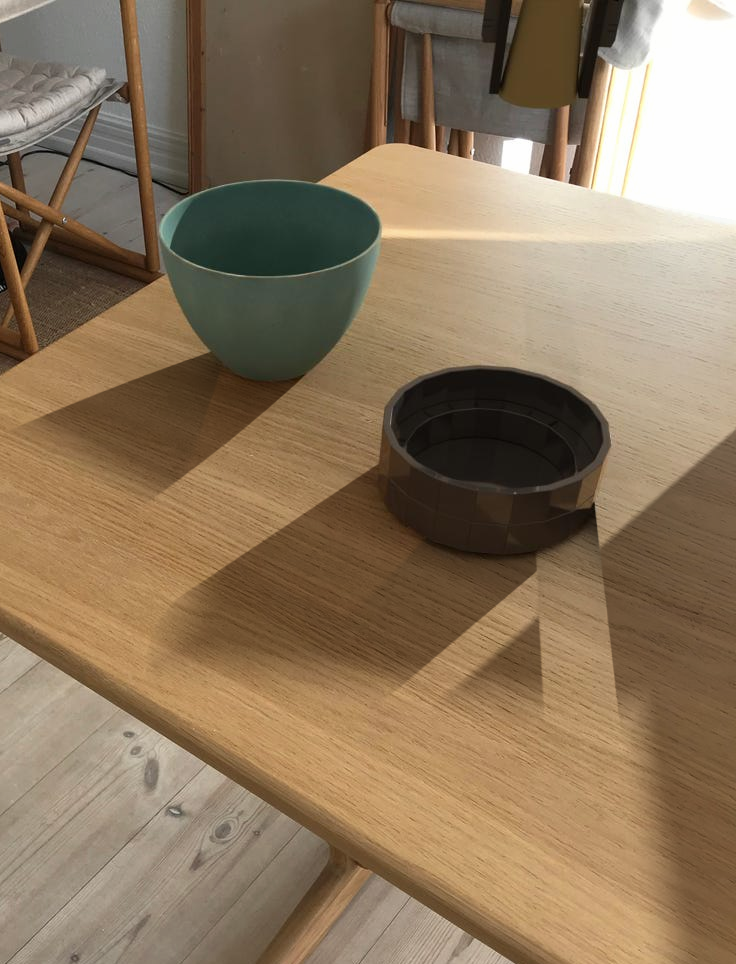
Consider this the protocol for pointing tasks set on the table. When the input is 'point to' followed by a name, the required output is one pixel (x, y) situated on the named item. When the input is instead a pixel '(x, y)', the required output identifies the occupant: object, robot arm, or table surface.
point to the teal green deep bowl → (270, 271)
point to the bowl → (492, 458)
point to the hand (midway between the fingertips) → (538, 89)
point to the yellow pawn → (544, 55)
